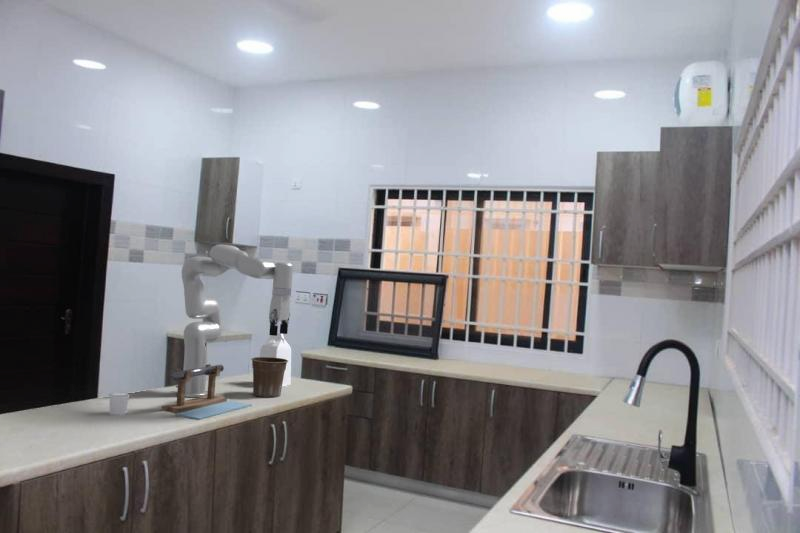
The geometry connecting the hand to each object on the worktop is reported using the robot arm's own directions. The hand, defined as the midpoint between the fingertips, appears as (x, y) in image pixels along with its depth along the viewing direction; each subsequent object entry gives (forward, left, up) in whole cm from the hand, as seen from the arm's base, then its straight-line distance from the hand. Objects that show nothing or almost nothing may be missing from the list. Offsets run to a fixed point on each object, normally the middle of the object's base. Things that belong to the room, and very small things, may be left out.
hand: (278, 334), depth 257 cm
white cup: (-39, -43, -31) cm, 65 cm away
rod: (-27, -15, -18) cm, 36 cm away
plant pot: (-18, +22, -31) cm, 42 cm away
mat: (-16, -17, -30) cm, 38 cm away
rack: (-27, -15, -30) cm, 43 cm away
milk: (-30, +45, -31) cm, 63 cm away
